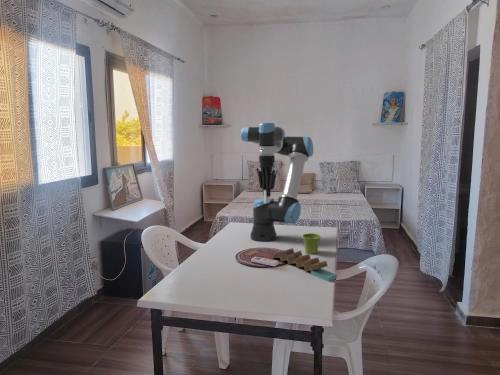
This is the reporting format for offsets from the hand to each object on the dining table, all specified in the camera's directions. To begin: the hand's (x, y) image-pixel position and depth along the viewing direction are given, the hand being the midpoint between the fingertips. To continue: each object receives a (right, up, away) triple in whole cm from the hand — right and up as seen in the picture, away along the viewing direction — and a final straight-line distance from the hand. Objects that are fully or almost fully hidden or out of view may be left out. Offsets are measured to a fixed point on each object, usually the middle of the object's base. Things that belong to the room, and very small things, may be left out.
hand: (266, 202), depth 185 cm
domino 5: (+18, -28, -18) cm, 38 cm away
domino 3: (+11, -27, -9) cm, 31 cm away
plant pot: (+23, -26, +7) cm, 35 cm away
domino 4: (+15, -28, -13) cm, 34 cm away
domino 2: (+8, -26, -5) cm, 28 cm away
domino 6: (+20, -29, -21) cm, 41 cm away
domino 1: (+5, -26, -1) cm, 26 cm away
